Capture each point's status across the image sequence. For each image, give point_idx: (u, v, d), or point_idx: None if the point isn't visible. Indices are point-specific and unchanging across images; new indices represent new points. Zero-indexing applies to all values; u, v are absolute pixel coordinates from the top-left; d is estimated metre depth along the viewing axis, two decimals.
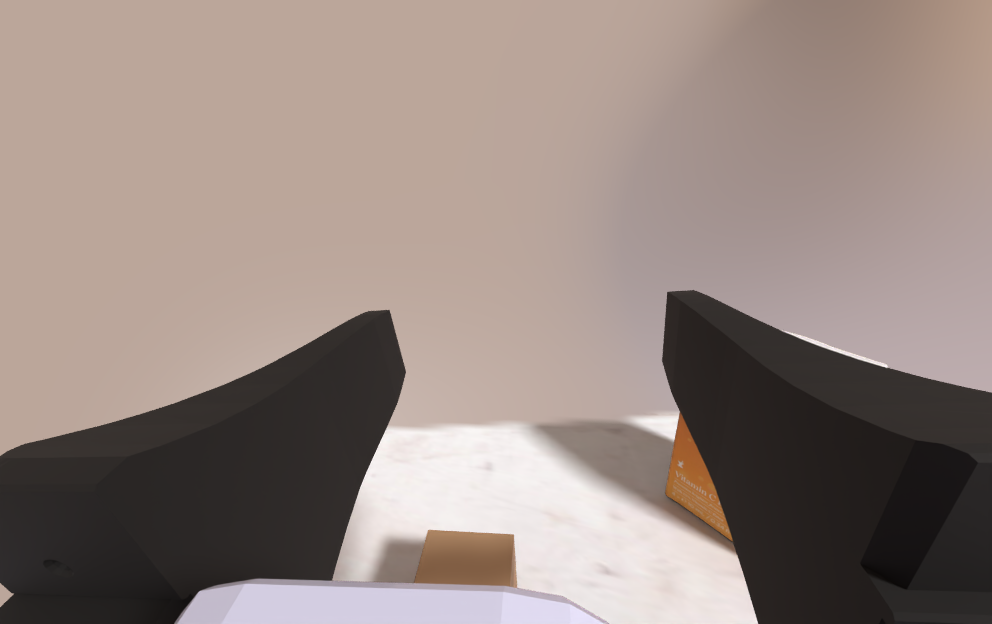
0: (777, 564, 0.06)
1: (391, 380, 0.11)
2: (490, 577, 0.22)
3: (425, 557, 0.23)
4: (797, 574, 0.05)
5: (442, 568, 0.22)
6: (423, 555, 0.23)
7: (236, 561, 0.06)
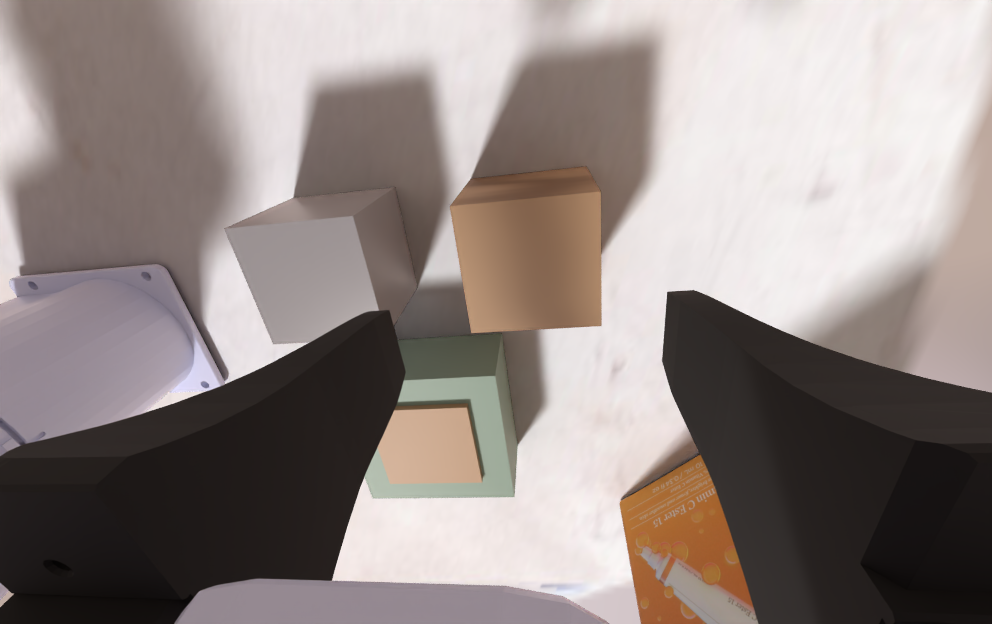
0: (777, 564, 0.06)
1: (391, 380, 0.11)
2: (532, 305, 0.16)
3: (549, 204, 0.14)
4: (798, 575, 0.05)
5: (535, 237, 0.14)
6: (552, 200, 0.14)
7: (236, 561, 0.06)
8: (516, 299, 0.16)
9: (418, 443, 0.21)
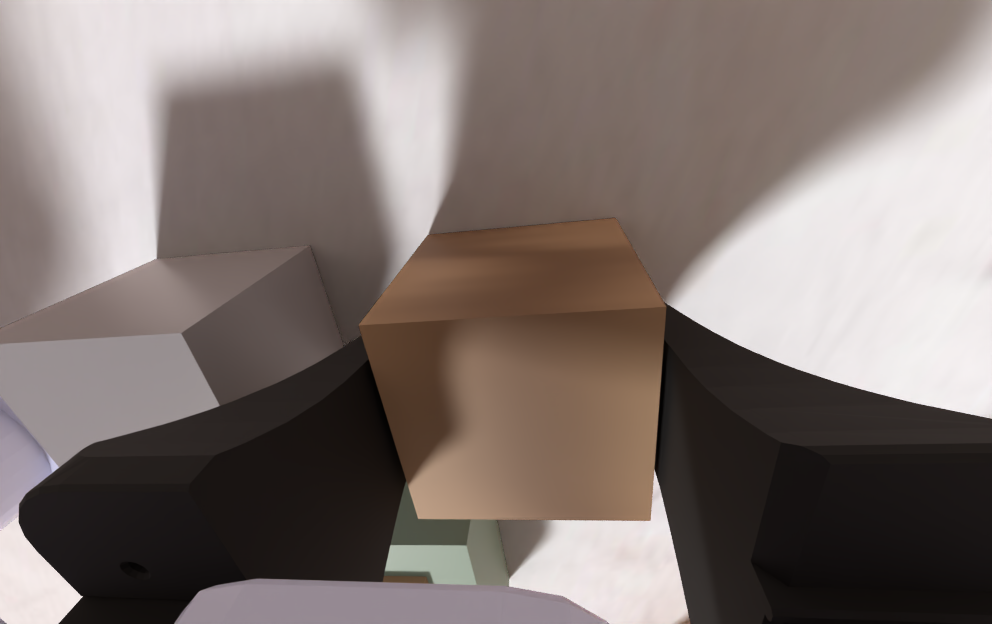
0: (700, 562, 0.06)
1: None
2: (525, 486, 0.09)
3: (557, 328, 0.07)
4: (713, 573, 0.06)
5: (529, 382, 0.07)
6: (563, 320, 0.07)
7: (305, 563, 0.06)
8: (495, 476, 0.09)
9: None
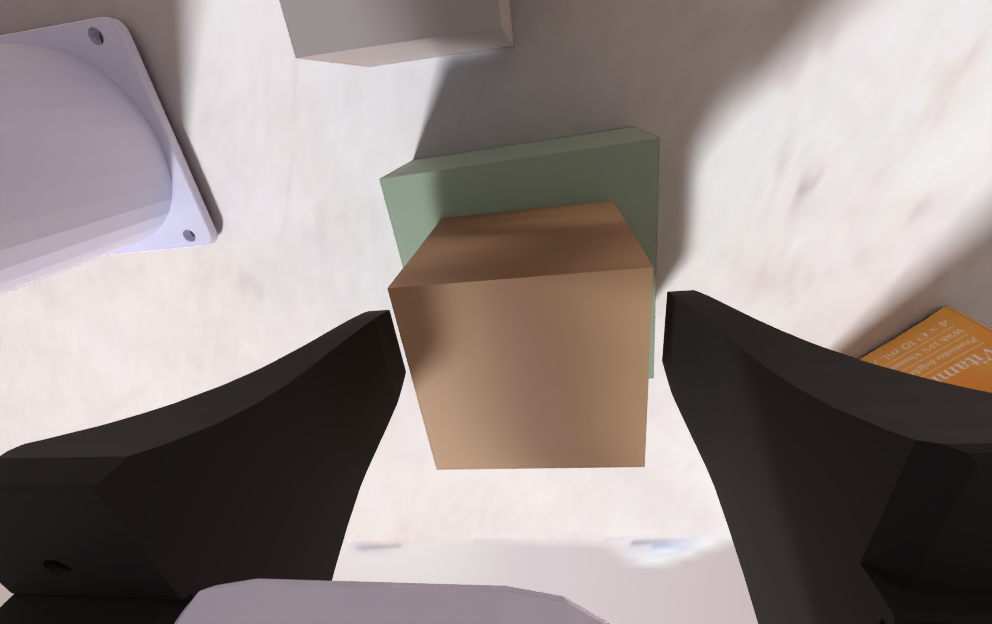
0: (777, 564, 0.06)
1: (391, 380, 0.11)
2: (532, 435, 0.10)
3: (560, 287, 0.08)
4: (797, 574, 0.05)
5: (535, 338, 0.08)
6: (565, 281, 0.08)
7: (236, 561, 0.06)
8: (506, 426, 0.10)
9: None
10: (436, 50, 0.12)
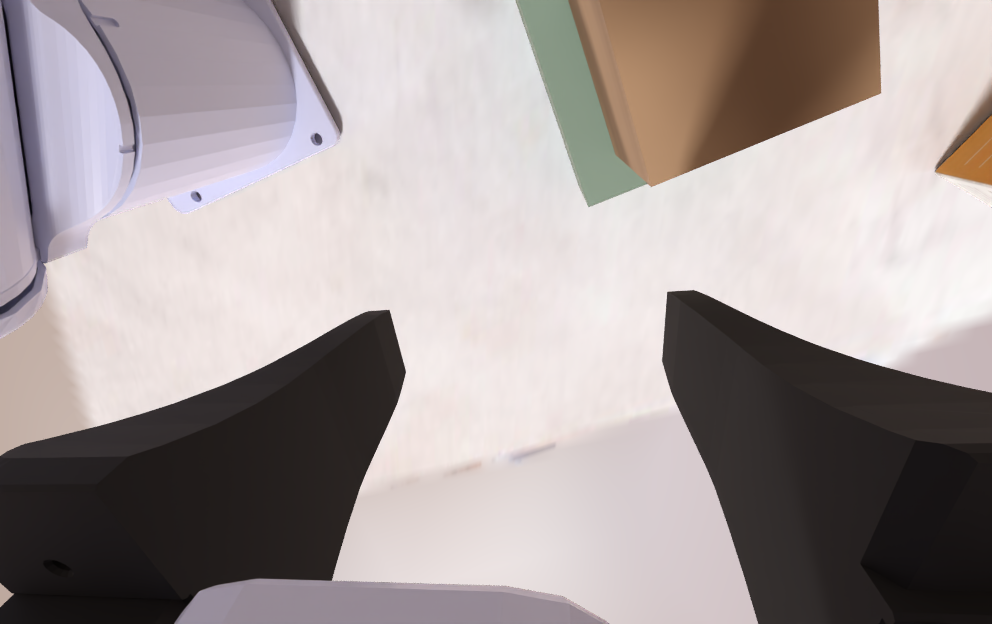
0: (777, 564, 0.06)
1: (391, 380, 0.11)
2: (751, 97, 0.09)
3: None
4: (797, 574, 0.05)
5: None
6: None
7: (236, 561, 0.06)
8: (721, 96, 0.09)
9: None
10: None
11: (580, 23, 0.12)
